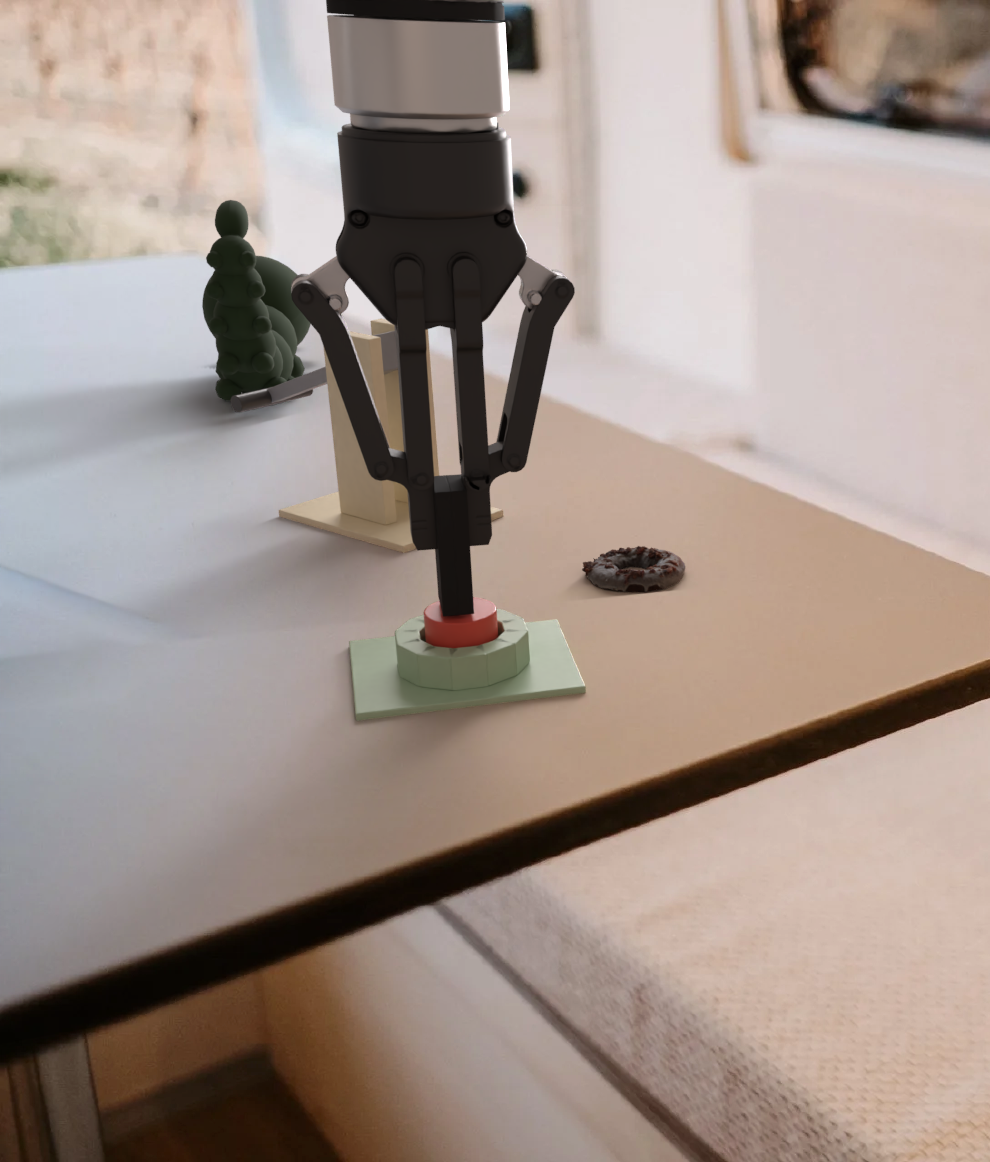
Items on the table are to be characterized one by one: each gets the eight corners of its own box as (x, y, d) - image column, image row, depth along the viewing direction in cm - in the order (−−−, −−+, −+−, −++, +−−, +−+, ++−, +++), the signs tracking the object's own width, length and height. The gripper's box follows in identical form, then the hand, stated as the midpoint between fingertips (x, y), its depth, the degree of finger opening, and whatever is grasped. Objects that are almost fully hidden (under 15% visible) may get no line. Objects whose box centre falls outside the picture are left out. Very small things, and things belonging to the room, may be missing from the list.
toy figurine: (313, 437, 125) (321, 347, 147) (288, 216, 117) (300, 154, 138) (194, 442, 123) (220, 350, 144) (159, 216, 114) (192, 154, 135)
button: (428, 658, 73) (426, 626, 72) (423, 631, 76) (420, 600, 75) (502, 650, 74) (500, 619, 74) (494, 623, 77) (492, 593, 77)
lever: (237, 422, 101) (224, 389, 101) (308, 405, 106) (296, 373, 105) (361, 376, 93) (347, 340, 93) (431, 360, 98) (419, 325, 97)
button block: (359, 754, 71) (351, 679, 69) (352, 677, 78) (345, 609, 77) (587, 725, 74) (584, 653, 73) (559, 654, 82) (555, 588, 81)
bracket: (280, 527, 100) (255, 327, 95) (383, 494, 107) (365, 306, 102) (404, 564, 94) (386, 353, 89) (504, 527, 101) (492, 329, 96)
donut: (623, 555, 97) (622, 526, 96) (725, 577, 94) (725, 547, 93) (547, 597, 90) (545, 566, 89) (654, 622, 87) (653, 590, 86)
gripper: (557, 117, 71) (572, 568, 80) (269, 111, 67) (318, 590, 75) (584, 131, 65) (597, 620, 73) (267, 126, 60) (321, 647, 69)
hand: (455, 604), depth 74 cm, fingers closed
